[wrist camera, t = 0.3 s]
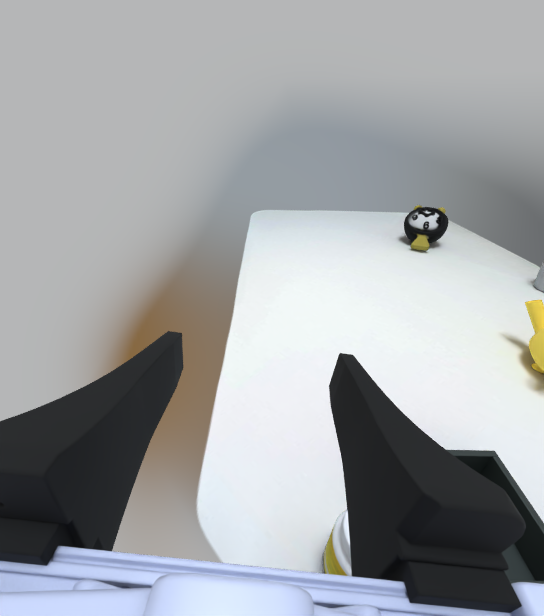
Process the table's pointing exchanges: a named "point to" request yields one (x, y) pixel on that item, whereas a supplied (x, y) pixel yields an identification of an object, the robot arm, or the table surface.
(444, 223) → the alarm clock
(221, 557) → the table surface
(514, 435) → the table surface
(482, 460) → the storage tray
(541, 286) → the cup
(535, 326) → the teapot
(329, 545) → the supplement bottle
